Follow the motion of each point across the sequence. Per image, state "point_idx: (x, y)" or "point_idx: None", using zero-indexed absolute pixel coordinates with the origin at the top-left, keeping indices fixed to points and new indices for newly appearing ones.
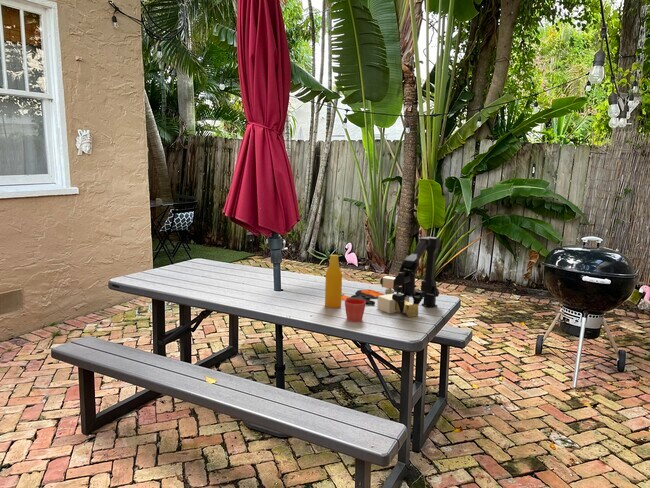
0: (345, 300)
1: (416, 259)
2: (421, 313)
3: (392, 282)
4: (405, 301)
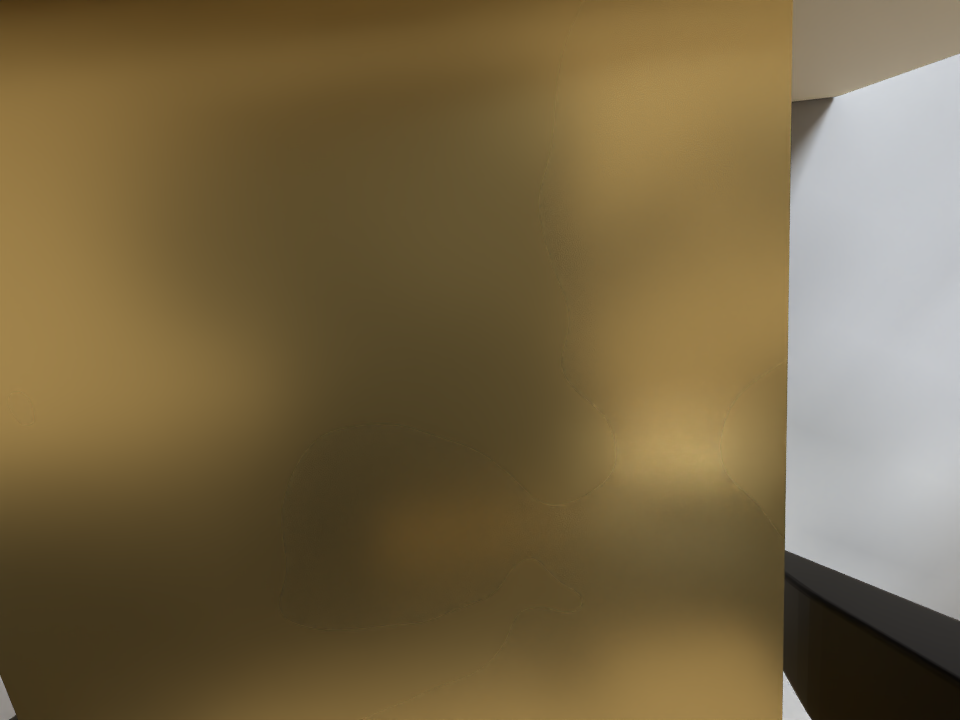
0: None
1: None
2: (878, 569)
3: None
4: (686, 453)
